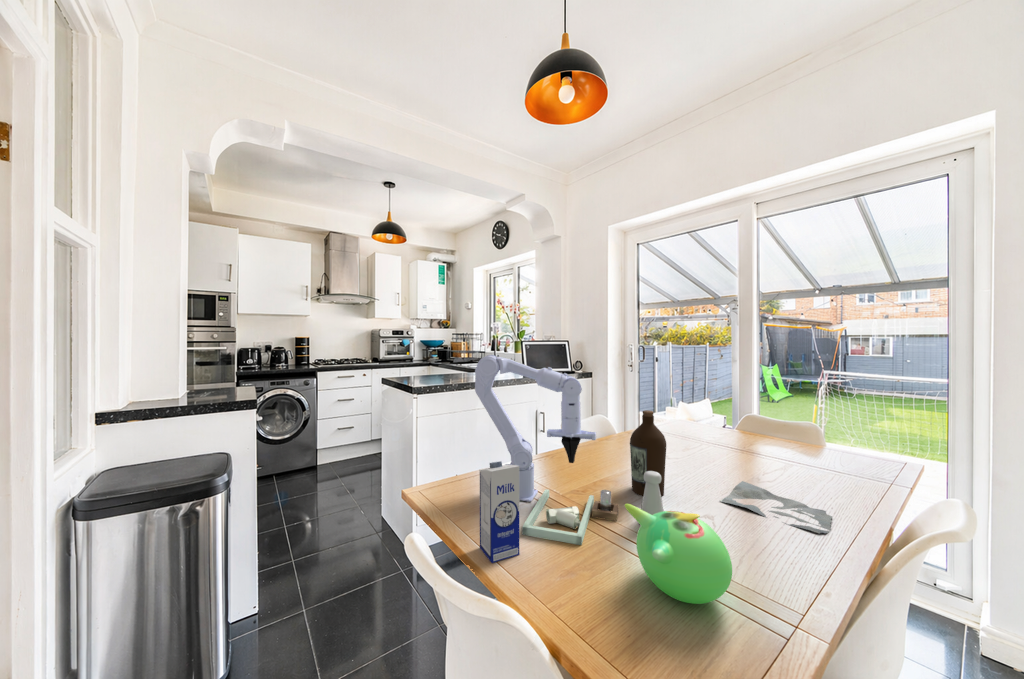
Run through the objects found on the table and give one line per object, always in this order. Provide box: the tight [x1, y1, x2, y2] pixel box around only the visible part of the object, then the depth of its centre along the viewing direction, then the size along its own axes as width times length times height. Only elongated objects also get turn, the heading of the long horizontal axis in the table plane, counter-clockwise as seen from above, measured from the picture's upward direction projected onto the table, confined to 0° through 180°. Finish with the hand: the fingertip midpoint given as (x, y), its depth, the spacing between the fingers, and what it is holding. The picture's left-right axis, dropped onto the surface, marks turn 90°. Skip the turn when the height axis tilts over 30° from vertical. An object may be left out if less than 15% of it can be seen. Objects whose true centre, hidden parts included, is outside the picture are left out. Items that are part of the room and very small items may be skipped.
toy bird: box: [624, 503, 733, 605], centre depth 73 cm, size 18×17×15 cm
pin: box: [599, 489, 612, 512], centre depth 104 cm, size 3×3×6 cm
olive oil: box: [629, 409, 667, 497], centre depth 118 cm, size 11×11×25 cm
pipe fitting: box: [545, 506, 581, 530], centre depth 98 cm, size 8×4×7 cm
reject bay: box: [521, 488, 595, 546], centre depth 102 cm, size 14×24×2 cm, turn 161°
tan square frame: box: [591, 500, 619, 522], centre depth 104 cm, size 6×6×2 cm
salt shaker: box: [640, 471, 665, 515], centre depth 99 cm, size 6×6×13 cm
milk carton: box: [478, 460, 520, 564], centre depth 86 cm, size 7×7×20 cm
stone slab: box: [719, 480, 833, 534], centre depth 106 cm, size 24×16×2 cm, turn 38°
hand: (571, 461), depth 115 cm, fingers closed
